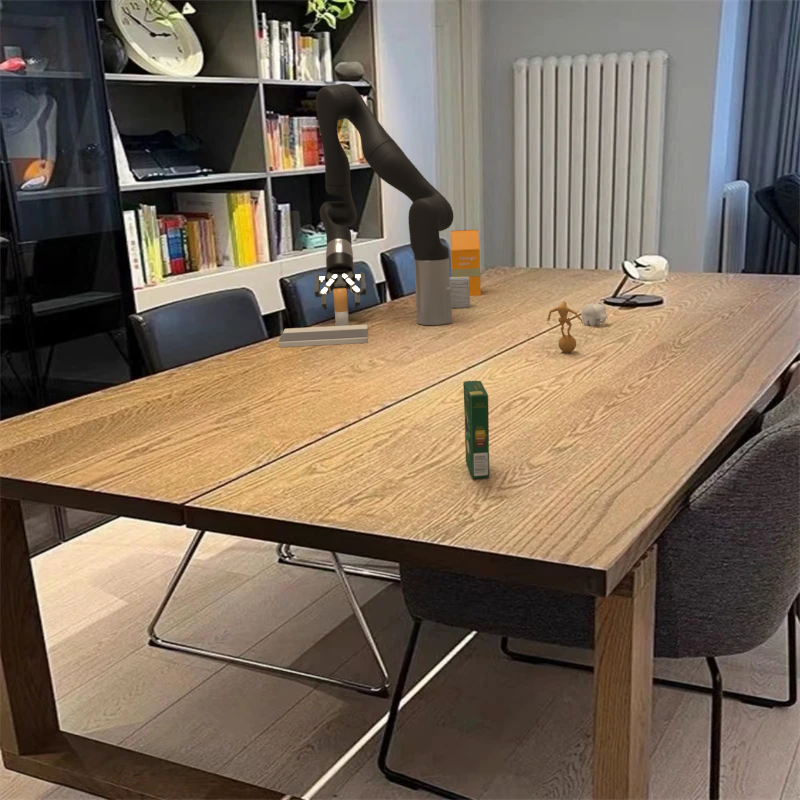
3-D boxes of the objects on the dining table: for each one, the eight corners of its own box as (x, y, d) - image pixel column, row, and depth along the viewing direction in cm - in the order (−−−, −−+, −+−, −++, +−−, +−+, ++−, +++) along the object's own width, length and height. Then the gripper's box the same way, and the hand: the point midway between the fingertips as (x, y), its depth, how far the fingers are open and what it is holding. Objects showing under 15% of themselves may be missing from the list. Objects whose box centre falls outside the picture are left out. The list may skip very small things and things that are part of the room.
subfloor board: (367, 328, 257) (367, 323, 256) (367, 342, 239) (367, 337, 239) (285, 333, 256) (284, 328, 256) (278, 347, 239) (278, 341, 239)
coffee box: (491, 479, 141) (489, 393, 138) (471, 480, 141) (469, 394, 138) (483, 461, 149) (481, 379, 146) (465, 462, 149) (462, 380, 145)
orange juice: (480, 295, 301) (479, 230, 295) (452, 296, 301) (450, 232, 296) (479, 291, 308) (477, 228, 303) (451, 292, 308) (449, 229, 303)
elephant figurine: (597, 329, 242) (597, 305, 240) (572, 325, 248) (572, 302, 246) (614, 325, 246) (614, 302, 245) (589, 321, 252) (589, 299, 251)
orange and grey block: (348, 323, 265) (346, 287, 263) (348, 326, 262) (346, 289, 259) (335, 324, 265) (333, 288, 262) (335, 326, 262) (332, 290, 259)
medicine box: (470, 305, 284) (469, 276, 282) (469, 308, 280) (469, 278, 277) (443, 306, 285) (442, 277, 283) (442, 309, 281) (441, 279, 278)
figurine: (588, 351, 218) (588, 299, 215) (578, 357, 213) (578, 303, 210) (553, 349, 222) (553, 297, 219) (543, 354, 218) (542, 302, 214)
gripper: (312, 252, 266) (313, 300, 258) (364, 249, 267) (366, 297, 259) (315, 268, 273) (315, 316, 265) (365, 266, 273) (367, 313, 265)
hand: (340, 306), depth 262 cm, fingers open, 8 cm apart
